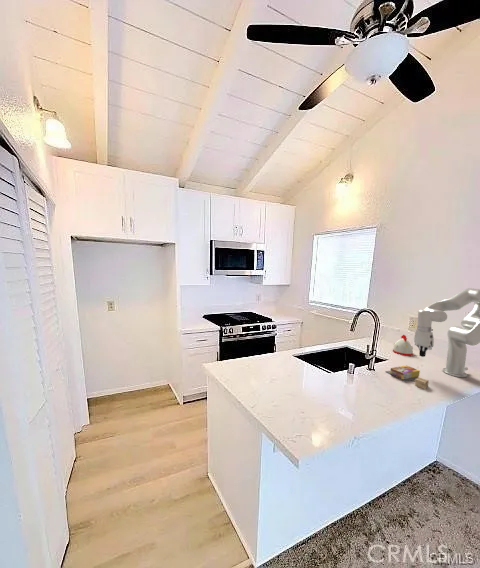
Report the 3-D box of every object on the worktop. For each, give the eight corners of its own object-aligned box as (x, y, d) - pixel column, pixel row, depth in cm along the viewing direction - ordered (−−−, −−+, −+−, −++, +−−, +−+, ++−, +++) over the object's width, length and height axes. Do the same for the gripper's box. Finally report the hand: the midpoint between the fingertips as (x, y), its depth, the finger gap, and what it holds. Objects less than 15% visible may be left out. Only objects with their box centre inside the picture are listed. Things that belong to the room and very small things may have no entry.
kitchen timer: (396, 354, 204) (398, 336, 203) (389, 349, 217) (391, 332, 216) (416, 356, 202) (417, 338, 200) (407, 350, 215) (409, 333, 214)
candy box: (405, 371, 171) (389, 373, 165) (406, 365, 171) (390, 367, 165) (419, 377, 163) (402, 379, 157) (420, 370, 162) (403, 373, 157)
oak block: (418, 383, 154) (418, 377, 154) (428, 387, 150) (428, 380, 150) (414, 385, 151) (415, 379, 151) (424, 389, 147) (425, 382, 147)
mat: (401, 369, 173) (401, 369, 173) (421, 379, 160) (421, 378, 160) (385, 371, 169) (385, 371, 169) (404, 381, 156) (404, 380, 156)
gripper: (440, 331, 161) (438, 359, 162) (417, 325, 175) (415, 351, 176) (431, 332, 158) (429, 361, 160) (409, 326, 173) (407, 352, 174)
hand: (422, 356), depth 168 cm, fingers closed
